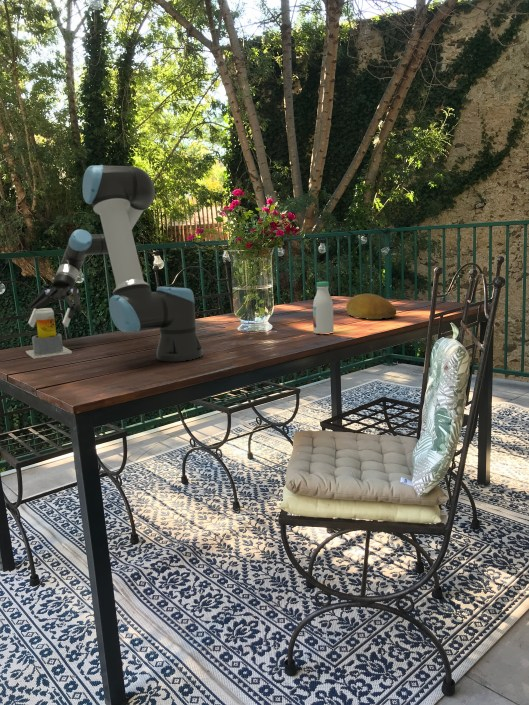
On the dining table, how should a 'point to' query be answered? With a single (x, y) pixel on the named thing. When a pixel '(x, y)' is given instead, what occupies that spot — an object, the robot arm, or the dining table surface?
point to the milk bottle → (322, 309)
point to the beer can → (45, 323)
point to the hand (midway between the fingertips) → (47, 325)
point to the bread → (370, 307)
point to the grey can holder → (47, 347)
